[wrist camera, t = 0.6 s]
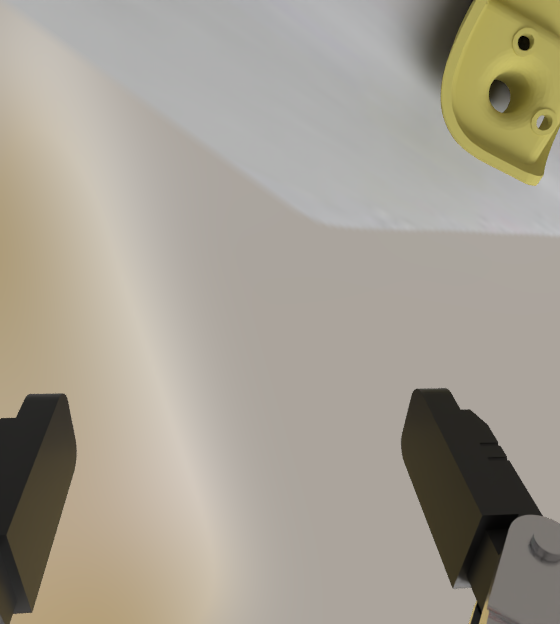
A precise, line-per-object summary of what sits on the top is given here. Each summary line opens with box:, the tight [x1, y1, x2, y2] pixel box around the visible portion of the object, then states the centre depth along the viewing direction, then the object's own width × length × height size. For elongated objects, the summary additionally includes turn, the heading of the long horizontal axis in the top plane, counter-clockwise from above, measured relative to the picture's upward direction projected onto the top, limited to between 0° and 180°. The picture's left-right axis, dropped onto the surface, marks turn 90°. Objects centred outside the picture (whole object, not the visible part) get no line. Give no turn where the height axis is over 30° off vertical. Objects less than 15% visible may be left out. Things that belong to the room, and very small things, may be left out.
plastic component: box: [441, 0, 560, 186], centre depth 33 cm, size 20×7×10 cm
